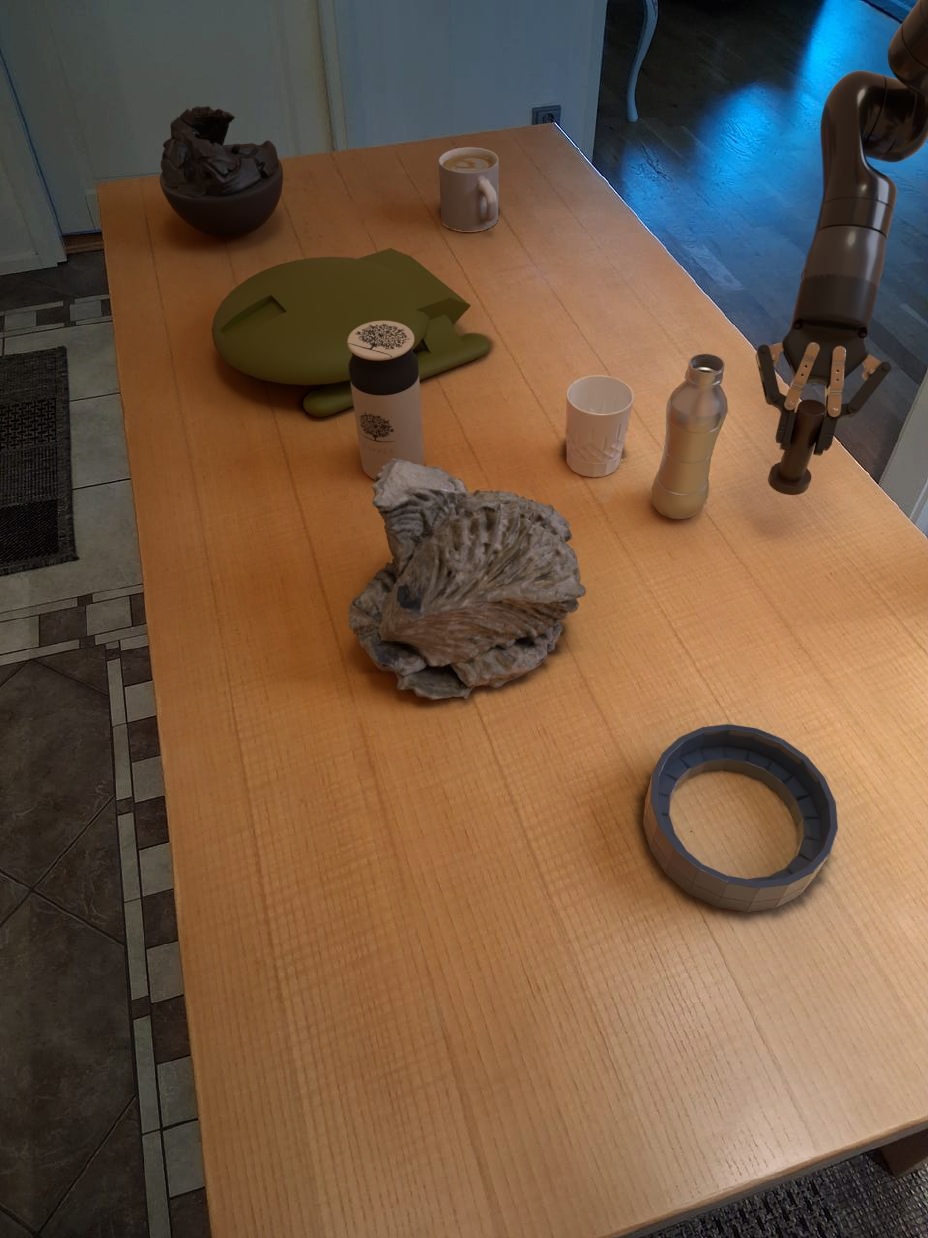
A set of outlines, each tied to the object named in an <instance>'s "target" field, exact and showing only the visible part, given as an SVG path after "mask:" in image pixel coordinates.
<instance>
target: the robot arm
mask: <svg viewBox="0 0 928 1238" xmlns="http://www.w3.org/2000/svg"><path fill="white" fill-rule="evenodd" d="M887 64H888V67H889V69H890V72H891V73H892V74H893V76H894V77H891V76H888V75H884V74H880V73H876V72H872V71H868V70H860V69H859V70H854V71H851V72H849V73H847V74H845V75H844V76H843V77H841V78H840V79H839V80H838V81H837V82H836V83H835V85H834V86H833V87H832V89H831V90H830V92H829V94H828V95H827V97H826V99H825V102H824V105H823V109H822V112H821V119H820V130H819V131H820V132H819V133H820V134H819V135H820V136H819V137H820V139H819V140H820V152H821V153H820V154H821V173H822V174H821V175H822V177H821V179H822V180H821V183H822V190H821V191H822V192H821V193H822V194H821V202H820V204H819V210H818V214H817V220H816V224H815V229H814V232H813V236H812V241H811V244H810V246H809V249H808V252H807V255H806V258H805V261H804V266H803V269H802V271H801V274H800V283H799V288H798V292H797V297H796V302H795V305H794V310H793V313H792V320H791V324H790V328H789V331H788V332H787V334H786V335H785V336H784V337H783V339H782V341H781V342H778V343H774V344H771V345H767V344H761V345H759V346H758V347H757V350H756V353H755V360H756V364H757V369H758V373H759V378H760V382H761V386H762V392H763V395H764V399H765V402H766V404H767V405H769V406H773V407H774V408H776V409H778V411H779V413H780V414H779V415H780V416H779V419H778V423H777V429H776V433H775V436H774V438H775V443H776V444H780V445H779V446H780V447H779V450H782V451H784V450H787V449H788V447H789V444H790V439H791V435H792V431H793V426H794V422H795V417H796V413H797V412H796V409H797V406H798V404H799V400H800V398H801V396H802V393H803V390H804V389H805V387H806V384H813V383H815V384H817V385H818V384H819V385H821V386H824V405H825V407H826V413H825V416H824V419H823V422H822V425H821V428H820V431H819V434H818V437H817V440H816V443H815V446H814V449H813V452H812V455H813V456H818V457H819V456H820V457H821V456H822V455H823V454H824V452H827V451H828V450H829V449H830V448H831V447H832V445H833V442H834V441H833V440H834V436H835V432H836V427H837V423H838V420H840V419H843V418H852V417H854V416H855V415H856V414H857V413H859V412H860V410H861V409H862V408H863V406H864V405H865V404H866V403H867V401H868V400H869V399H870V398H871V396H872V395H873V394H874V392H875V391H876V390H877V388H878V387H879V386H880V385H881V383H882V382H883V380H885V378H886V377H887V376H888V374H889V373H890V371H891V370H892V365H891V363H890V362H888V361H881V360H879V359H877V358H876V357H874V356H873V355H871V354H870V347H869V345H868V335H869V331H870V327H871V321H872V318H873V313H874V309H875V305H876V300H877V295H878V292H879V287H880V283H881V278H882V275H883V270H884V265H885V258H886V246H887V240H888V237H889V233H890V228H891V224H892V219H893V215H894V210H895V206H896V202H897V194H898V190H897V185H896V184H895V182H894V180H892V178H890V177H889V176H887V175H886V174H884V173H882V172H881V171H879V170H878V169H877V168H875V167H873V166H872V164H870V163H869V161H868V160H867V158H869V159H873V160H876V161H881V162H885V163H899V162H902V161H905V160H907V159H909V158H911V157H912V156H913V155H915V154H916V153H918V152H919V151H920V150H921V149H922V148H923V146H924V145H925V143H926V141H927V140H928V0H917V2H916V3H915V4H914V6H913V7H912V9H911V11H910V12H909V13H908V15H907V16H906V18H904V20H903V22H902V23H901V24H900V26H899V27H898V28H897V30H896V32H895V33H894V35H893V37H892V38H891V41H890V42H889V45H888V48H887ZM782 354H783V356H784V358H785V360H786V363H787V365H788V367H789V369H790V371H791V373H792V375H793V377H792V380H791V383H790V385H789V387H788V391H787V393H786V395H785V394H783V393H782V392H780V387H779V382H778V379H777V374H776V370H775V367H776V366H777V365H778V363H779V361H780V355H782ZM861 365H862V366H863V371H862V373H861V377H862V379H863V380H864V382H863V383H862V385H861V386H860V387H859V389H858V390H857V392H855V394H854V396H852V398H851V399H850V401H849V402H845V403H842V396H843V391H844V380H845V379H846V378H847V377H848V376H849V375H850V374H852V373H853V372H854V371H855V370H856V369H857V368H858V367H859V366H861Z"/></svg>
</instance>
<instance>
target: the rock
mask: <svg viewBox="0 0 928 1238" xmlns="http://www.w3.org/2000/svg"><path fill="white" fill-rule="evenodd" d="M373 480H374V482H375V483H372V484H371V486H370V487H371V489H372V490H373V493H374V495H373V497H372V505H373V507H375V508H376V509H377V510H378V513H379V515H380V517H381V518H382V519H383V523H384V526H383V529H384V532H385V534H386V540H387V544H388V549H389V551H390V553H391V556H392V560H391V561H392V562H389V561H388V562H385V566H384V567H382V568H380V569H379V570H378V571H377V572H375V574H374V575H373V576H372V577H371V580H370V581H369V582H368V583H367V584H366V585H365V587H364V590H362V591H361V592H360V593H358V595H357V596H356V597H354V598H353V599H352V601H350V603H349V606H348V607H349V608H348V609H349V610H348V628H349V629H350V630H352V632H353V633H354V635H355V637H356V640H357V641H358V644H359V647H360V649H362V650H364V651H365V652H366V653H367V655H368V656H369V658H370V659H371V660H372V662H373V664H374V665H375V666H376V667H377V668H378V670H379V671H381V672H388V673H395V676H396V678H397V684H396V689H397V690H399V691H402V692H403V691H407V690H411V691H412V692H413V694H414V695H415V696H416V697H420V698H427V699H429V700H431V701H434V700H441V699H450V698H452V697H456V698H462V699H463V700H466V699H468V698H469V696H470V694H471V692H472V691H473V690H474V689H475V687H479V686H490V687H491V688H500V687H502V686H503V685H504V684H505V683H508V682H510V681H512V680H515V679H517V678H520V677H522V676H524V675H526V674H528V673H529V672H530V671H532V670H533V671H534V670H535V669H537V668H538V667H540V666H541V665H542V664H543V662H545V661H546V658H547V657H548V653H551V652H553V651H554V650H555V645H556V643H557V641H558V639H559V638H560V635H561V633H562V631H563V626H562V621H563V620H565V619H566V618H567V617H568V615H569V613H571V614H572V613H575V612H576V611H578V609H579V607H580V603H579V601H578V598H582V597H584V596H585V595H586V593H587V590H586V588H587V587H586V586H585V585H582V584H581V571H580V566H579V563H578V557H577V554H576V552H575V549H574V548H572V547H571V546H570V544H569V543H568V542H570V541H571V540H572V539H573V534H572V532H571V530H570V526H571V523H570V522H569V520H567V519H566V517H565V516H563V515H562V514H561V513H560V512H559V510H558V509H555V507H554V505H553V504H549V503H548V504H547V503H544V502H542V501H541V502H540V501H538V500H536V501H534V499H530V498H529V499H526V497H525V496H524V495H521V496H519V495H518V494H517V493H512V492H511V491H503V490H502V489H498V490H495V491H494V490H489V491H488V490H480V489H476V490H474V492H469V489H468V488H467V487H466V485H465V483H464V481H463V480H462V479H461V478H458V477H453V475H451V473H449V472H448V471H446V470H444V469H443V468H442V467H440V466H429V465H424V466H422V465H420V464H413V463H411V462H409V461H403V460H402V459H395V458H393V459H391V460H390V462H389V463H387V464H385V466H382V467H381V469H380V472H379V474H377V475H376V476H375V479H373Z"/></svg>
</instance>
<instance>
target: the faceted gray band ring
mask: <svg viewBox="0 0 928 1238" xmlns="http://www.w3.org/2000/svg"><path fill="white" fill-rule="evenodd" d="M721 771H722V772H728V773H735V774H741V775H744V776H746V777H749V778H751V779H753V780H756V781H758V782H760V783H761V784H763V785H764V786H766V787H767V788H768V789H770V790H771V791H772V792H773V793H775V794H776V795H777V796H778V797H779V799H780V800H781V801H782V802H783V804H784V805H785V806H786V807H787V809H788V810H789V812H790V814H791V817H792V820H793V822H794V825H795V827H796V836H797V837H796V839H797V848H796V851H795V854H794V856H793V858H792V860H791V861H790V862H789V863H788V864H787V865H786V867H784V868H782V869H780V870H778V871H776V872H773V873H772V874H770V875H767V876H759V877H751V878H744V877H739V876H731V875H726V874H724V873H723V872H720V871H718V870H716V869H714V868H713V867H710V866H707V865H705V864H703V863H702V862H701V861H699V860H698V859H697V858H696V857H695V856H693V854H691V853H690V852H689V851H688V850H687V848H686V847H685V846H684V845H683V843H682V841H681V840H680V839H679V837H678V836H677V834H676V831H675V828H674V825H673V822H672V818H671V800H672V799H673V796H674V793H675V792H676V791H677V790H679V788H680V787H681V786H682V785H684V783H685V782H687V781H688V780H690V779H692V778H694V777H697V776H700V775H701V774H704V773H713V772H721ZM643 806H644V808H643V821H642V822H643V825H642V826H643V829H644V832H645V836H646V840H647V844H648V847H649V850H650V852H651V854H652V855H653V857H654V858H655V860H656V861H657V863H658V865H659V866H660V868H661V869H662V871H663V872H664V874H665V875H666V876H668V877H669V878H670V879H671V880H672V881H673V882H674V883H675V884H676V885H678V886H679V887H680V888H681V889H682V890H684V891H685V892H686V893H687V894H689V895H690V896H693V897H695V898H697V899H699V900H700V901H703V902H705V903H707V904H709V905H711V906H713V907H716V908H721V909H724V910H725V909H726V910H731V911H737V912H743V913H752V912H758V911H767V910H773V909H776V908H778V907H781V906H782V905H784V904H786V903H788V902H790V901H792V900H795V899H796V898H798V897H799V896H800V895H801V894H802V893H803V891H804V890H805V889H806V888H807V887H808V886H809V885H810V884H811V882H812V881H813V880H814V879H815V878H816V876H817V874H818V873H819V871H820V870H821V868H822V867H823V865H824V864H825V863H826V860H827V859H828V858H829V856H830V854H831V853H832V850H833V846H834V843H835V840H836V836H837V833H838V830H839V823H838V811H837V802H836V800H835V798H834V795H833V792H832V791H831V788H830V786H829V784H828V782H827V779H826V777H825V776H824V775H823V774H822V772H821V771H820V769H818V768H817V766H816V765H815V764H814V763H813V762H812V760H811V759H810V758H809V756H807V755H806V754H805V753H804V752H802V751H800V750H799V749H798V748H796V747H795V746H794V745H792V744H791V743H789V742H788V741H787V740H785V739H784V738H781V737H779V736H776V735H774V734H772V733H770V732H767V731H765V730H762V729H759V728H756V727H751V726H744V725H738V724H737V725H736V724H731V723H728V724H727V723H726V724H718V725H710V726H709V725H708V726H702V727H699V728H697V729H695V730H692V731H690V732H688V733H685V734H684V735H681V736H679V737H678V738H676V740H675V741H673V742H672V743H671V744H670V745H669V746H668V747H667V748H666V749H665V750H664V751H662V753H661V755H660V757H659V760H658V761H657V763H656V765H655V767H654V769H653V772H652V774H651V777H650V781H649V785H648V787H647V792H646V796H645V800H644V805H643Z"/></svg>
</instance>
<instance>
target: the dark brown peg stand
mask: <svg viewBox="0 0 928 1238" xmlns="http://www.w3.org/2000/svg"><path fill="white" fill-rule="evenodd" d="M795 412H797V413H796V417H795V422H794V426H793V431H792V435H791V439H790V444H789V447H788V449H787V450H783V453H782V457H781V459H780V461H779V462H776V463H774V464H773V465H772V466H771V468H770V470H769V473H768V476H767V483H768V485H769V486H770V487H771V489H773V490H774V491H776V492H777V493H779V494H782V495H787V496H798V495H802V494H804V493H805V492H807V490H808V489H809V487H810V484H811V482H812V473H811V471H810V469H809V468H808V466H809V463H810V461H811V457H812V455H813V452H814V447H815V443H816V440H817V437H818V434H819V431H820V428H821V425H822V422H823V419H824V416H825V413H826V407H825V403H822V402H821V401H819V400H818V399H817V400H816V399H803V400H801V401H799V402H798V403H797V406H796V409H795Z"/></svg>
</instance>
